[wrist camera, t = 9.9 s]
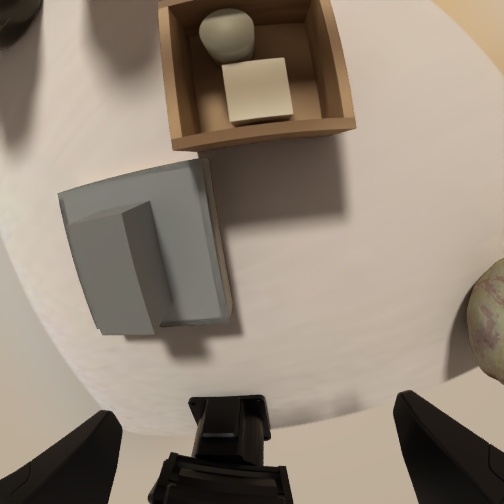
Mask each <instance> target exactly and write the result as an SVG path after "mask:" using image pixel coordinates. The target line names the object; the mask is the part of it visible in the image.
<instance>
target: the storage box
mask: <svg viewBox="0 0 504 504" xmlns="http://www.w3.org/2000/svg"><path fill="white" fill-rule="evenodd" d="M158 17H159V32H160V45H161V57H162V68H163V78H164V87H165V96H166V104H167V112H168V120H169V128H170V135H171V142H172V149H173V151H191V152H199V151H205V150H210V149H216V148H223V147H229V146H236V145H242V144H250V143H257V142H265V141H274V140H283V139H293V138H305V137H317V136H331V135H334V134H338V133H341V132H345V131H349V130H352V129H356V122H355V115H354V108H353V102H352V96H351V90H350V84H349V79H348V74H347V68H346V63H345V59H344V54H343V49H342V45H341V41H340V36H339V32H338V28H337V24H336V21H335V17H334V13H333V9H332V6H331V2H330V0H163V1H160V2H158Z"/></svg>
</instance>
